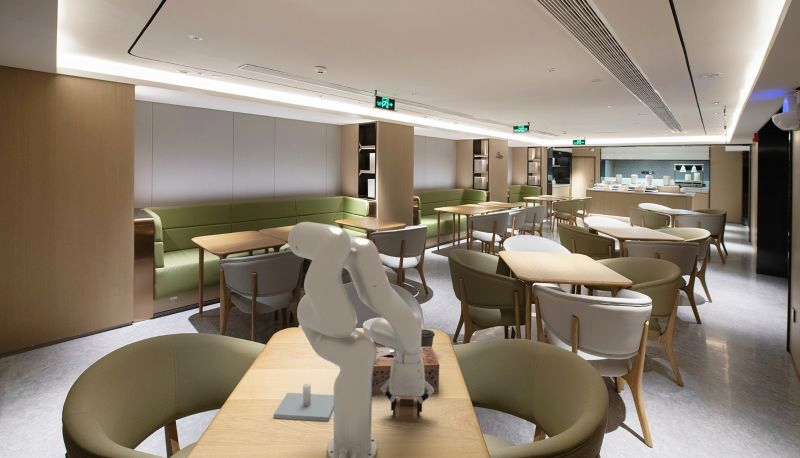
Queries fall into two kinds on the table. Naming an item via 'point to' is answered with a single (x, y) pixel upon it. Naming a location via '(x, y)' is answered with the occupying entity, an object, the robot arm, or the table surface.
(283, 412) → the post board
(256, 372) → the table surface
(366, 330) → the cereal bowl
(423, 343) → the coffee cup
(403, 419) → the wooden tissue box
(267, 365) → the table surface
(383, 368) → the tissue box cover
